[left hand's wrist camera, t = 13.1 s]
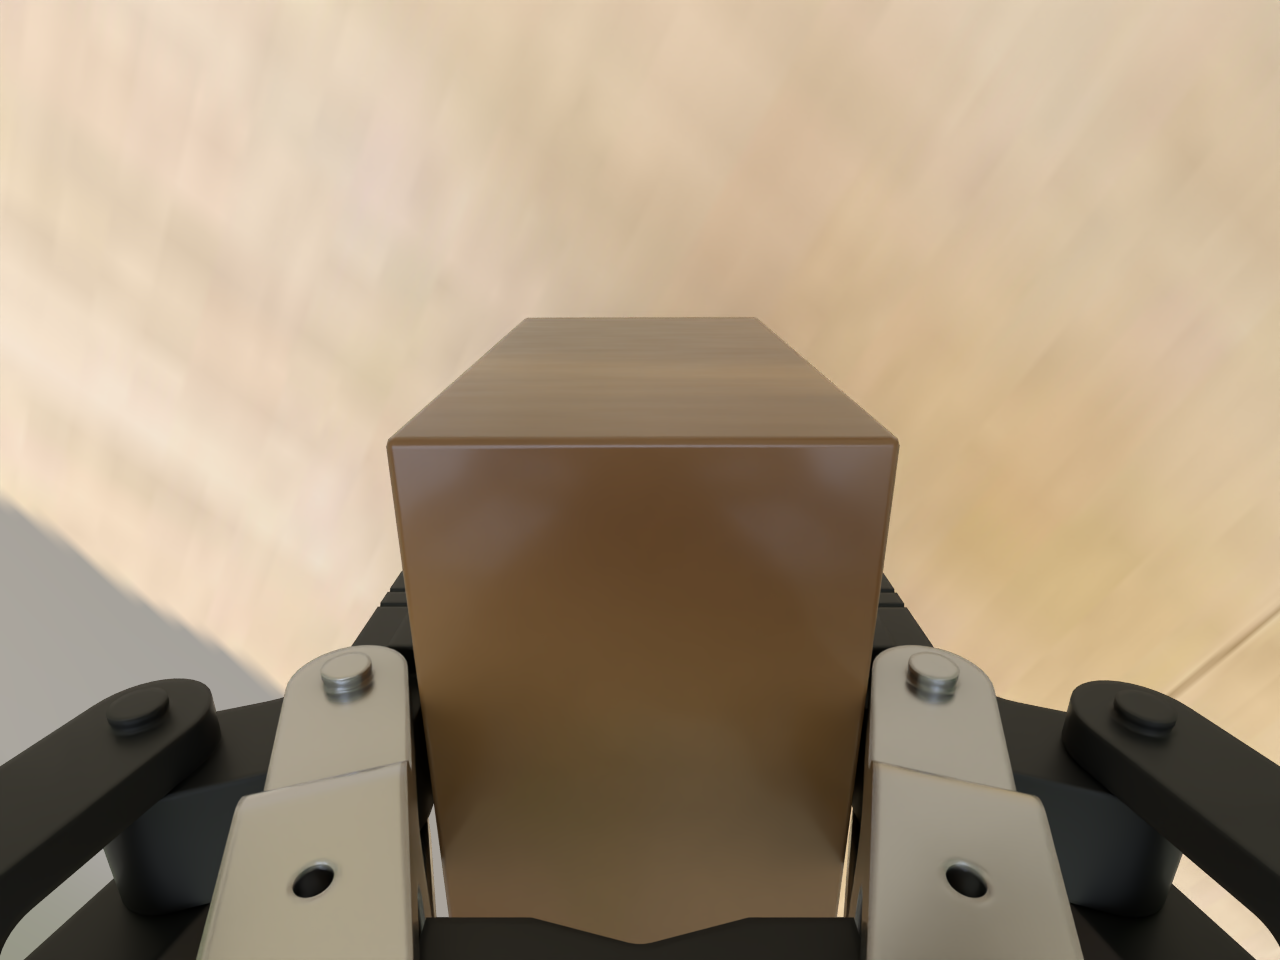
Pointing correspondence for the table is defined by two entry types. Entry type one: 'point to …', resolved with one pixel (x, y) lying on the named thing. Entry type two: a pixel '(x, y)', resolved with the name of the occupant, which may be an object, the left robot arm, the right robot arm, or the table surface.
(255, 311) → the table surface
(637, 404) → the bar
